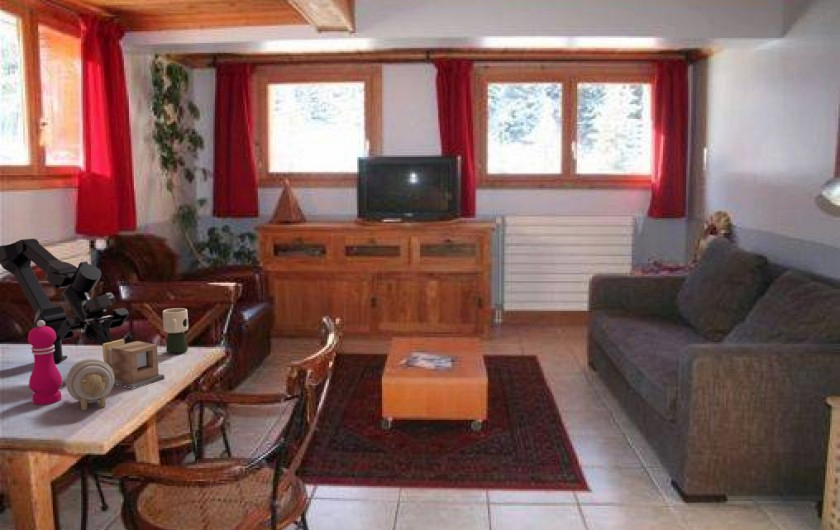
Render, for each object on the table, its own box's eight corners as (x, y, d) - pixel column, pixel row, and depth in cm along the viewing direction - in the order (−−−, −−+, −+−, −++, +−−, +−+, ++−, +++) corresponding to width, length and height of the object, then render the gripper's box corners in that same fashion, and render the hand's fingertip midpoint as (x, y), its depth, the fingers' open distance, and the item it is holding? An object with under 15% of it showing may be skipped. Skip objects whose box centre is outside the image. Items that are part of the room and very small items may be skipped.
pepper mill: (50, 406, 173) (43, 324, 170) (23, 404, 175) (16, 322, 172) (70, 396, 180) (64, 317, 177) (44, 394, 182) (38, 316, 179)
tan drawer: (104, 369, 195) (102, 343, 194) (123, 364, 200) (121, 339, 199) (131, 375, 189) (129, 349, 188) (150, 369, 194) (148, 344, 193)
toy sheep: (74, 418, 165) (71, 370, 164) (61, 398, 179) (57, 354, 177) (123, 408, 171) (120, 363, 170) (107, 390, 185) (104, 347, 183)
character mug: (188, 355, 217) (186, 313, 215) (163, 357, 215) (161, 314, 213) (190, 346, 227) (188, 306, 225) (166, 348, 226) (163, 307, 224)
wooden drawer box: (88, 378, 195) (86, 344, 194) (121, 368, 204) (118, 336, 202) (132, 388, 186) (130, 353, 185) (164, 378, 195) (162, 344, 193)
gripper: (61, 289, 189) (90, 336, 185) (122, 279, 205) (151, 322, 201) (45, 316, 195) (74, 362, 190) (107, 304, 210) (134, 346, 206)
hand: (110, 347), depth 197 cm, fingers closed
